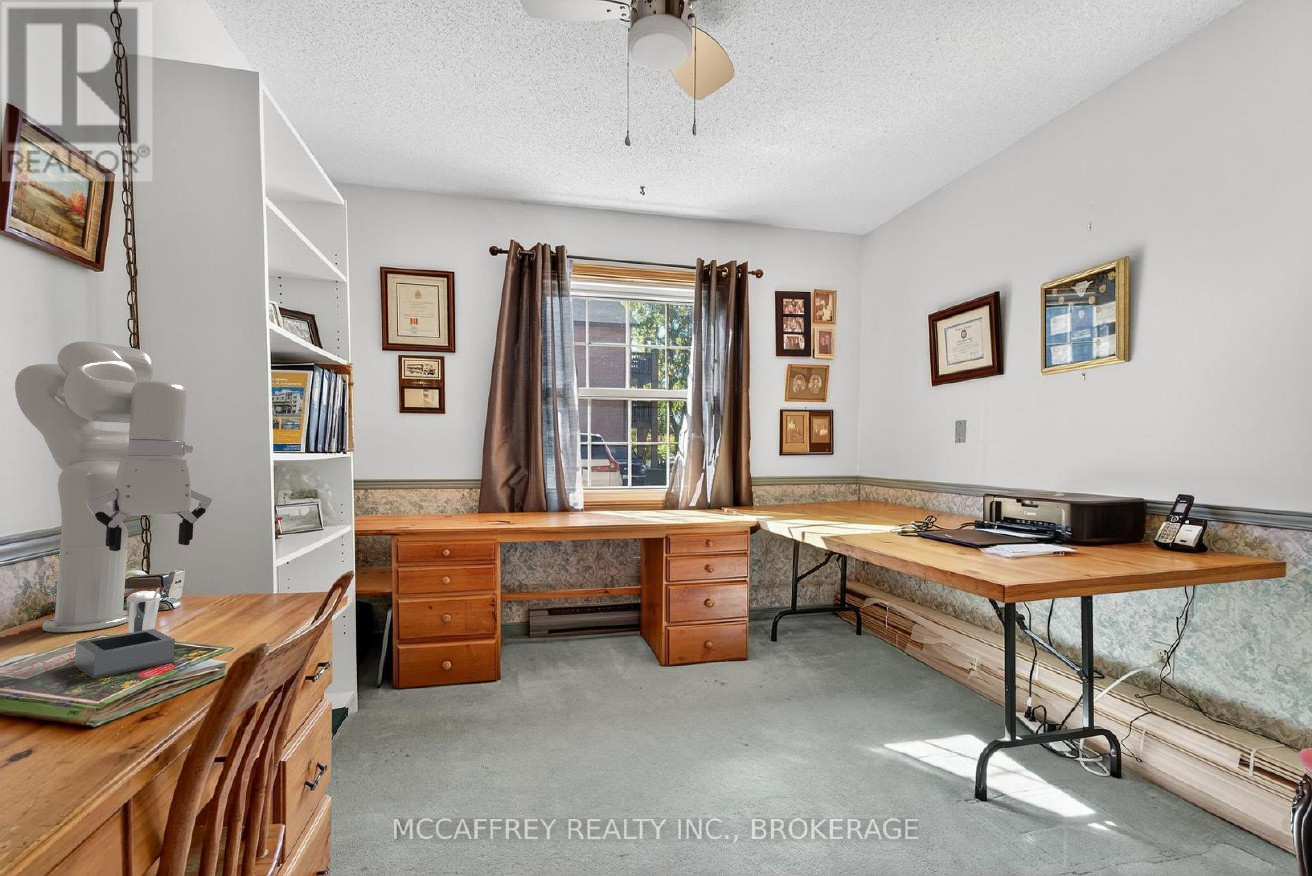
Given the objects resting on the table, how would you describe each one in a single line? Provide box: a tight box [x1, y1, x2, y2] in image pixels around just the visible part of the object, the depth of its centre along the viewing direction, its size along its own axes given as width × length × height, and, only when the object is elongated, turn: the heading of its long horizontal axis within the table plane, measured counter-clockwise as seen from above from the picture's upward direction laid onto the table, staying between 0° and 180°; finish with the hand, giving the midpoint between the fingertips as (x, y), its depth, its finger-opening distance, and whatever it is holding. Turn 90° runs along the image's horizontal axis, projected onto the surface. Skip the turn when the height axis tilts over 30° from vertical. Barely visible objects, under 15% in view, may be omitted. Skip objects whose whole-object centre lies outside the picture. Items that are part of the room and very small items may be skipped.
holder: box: [74, 629, 176, 680], centre depth 93 cm, size 10×10×4 cm
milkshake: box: [126, 587, 162, 633], centre depth 103 cm, size 4×5×10 cm
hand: (150, 547), depth 103 cm, fingers open, 9 cm apart
